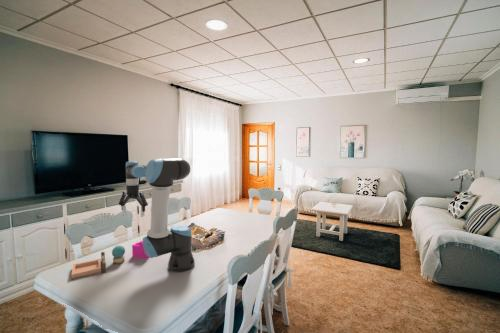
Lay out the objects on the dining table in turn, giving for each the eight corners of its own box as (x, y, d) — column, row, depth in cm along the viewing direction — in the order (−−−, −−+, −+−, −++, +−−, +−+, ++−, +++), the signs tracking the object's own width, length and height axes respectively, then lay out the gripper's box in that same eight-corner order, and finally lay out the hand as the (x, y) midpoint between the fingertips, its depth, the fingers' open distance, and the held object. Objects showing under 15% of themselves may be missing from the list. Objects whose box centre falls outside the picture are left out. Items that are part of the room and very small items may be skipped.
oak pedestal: (124, 262, 146) (124, 258, 146) (113, 265, 143) (113, 260, 143) (123, 258, 151) (123, 254, 151) (112, 261, 148) (112, 256, 148)
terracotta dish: (101, 272, 135) (101, 268, 135) (71, 279, 128) (71, 274, 127) (100, 262, 146) (100, 258, 146) (73, 268, 139) (73, 264, 139)
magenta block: (146, 258, 152) (146, 242, 151) (132, 256, 154) (132, 241, 154) (158, 250, 164) (157, 236, 163) (144, 249, 166) (144, 234, 165)
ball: (125, 258, 146) (125, 246, 145) (112, 260, 142) (112, 249, 141) (124, 253, 152) (124, 242, 151) (111, 256, 148) (111, 245, 147)
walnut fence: (106, 272, 135) (105, 263, 135) (102, 273, 134) (101, 264, 134) (104, 259, 150) (104, 251, 149) (101, 260, 149) (101, 252, 148)
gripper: (152, 184, 163) (153, 215, 165) (119, 183, 167) (120, 213, 169) (146, 186, 156) (147, 218, 157) (111, 184, 160) (113, 216, 162)
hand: (133, 215), depth 163 cm, fingers open, 13 cm apart
